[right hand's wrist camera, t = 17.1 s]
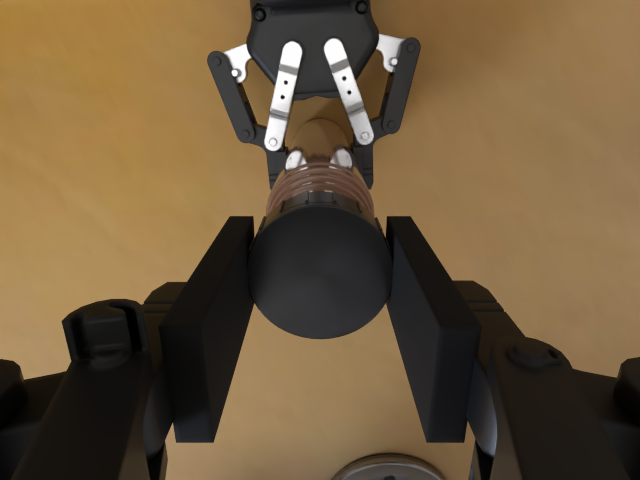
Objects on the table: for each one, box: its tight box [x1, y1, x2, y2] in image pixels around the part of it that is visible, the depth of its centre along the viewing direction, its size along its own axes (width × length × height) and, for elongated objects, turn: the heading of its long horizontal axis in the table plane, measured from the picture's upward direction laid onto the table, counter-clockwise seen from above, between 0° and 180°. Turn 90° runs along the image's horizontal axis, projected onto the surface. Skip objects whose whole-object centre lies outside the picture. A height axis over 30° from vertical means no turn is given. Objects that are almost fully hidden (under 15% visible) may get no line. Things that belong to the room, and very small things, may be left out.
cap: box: [247, 191, 393, 339], centre depth 13 cm, size 4×4×2 cm
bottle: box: [266, 119, 374, 217], centre depth 25 cm, size 5×5×25 cm
